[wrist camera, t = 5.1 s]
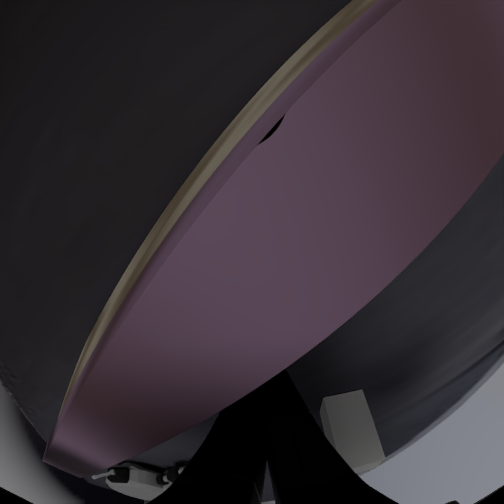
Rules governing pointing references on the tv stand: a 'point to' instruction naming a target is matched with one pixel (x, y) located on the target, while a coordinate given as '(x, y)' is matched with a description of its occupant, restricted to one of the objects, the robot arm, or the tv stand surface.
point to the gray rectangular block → (352, 430)
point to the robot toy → (139, 480)
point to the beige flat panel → (292, 221)
